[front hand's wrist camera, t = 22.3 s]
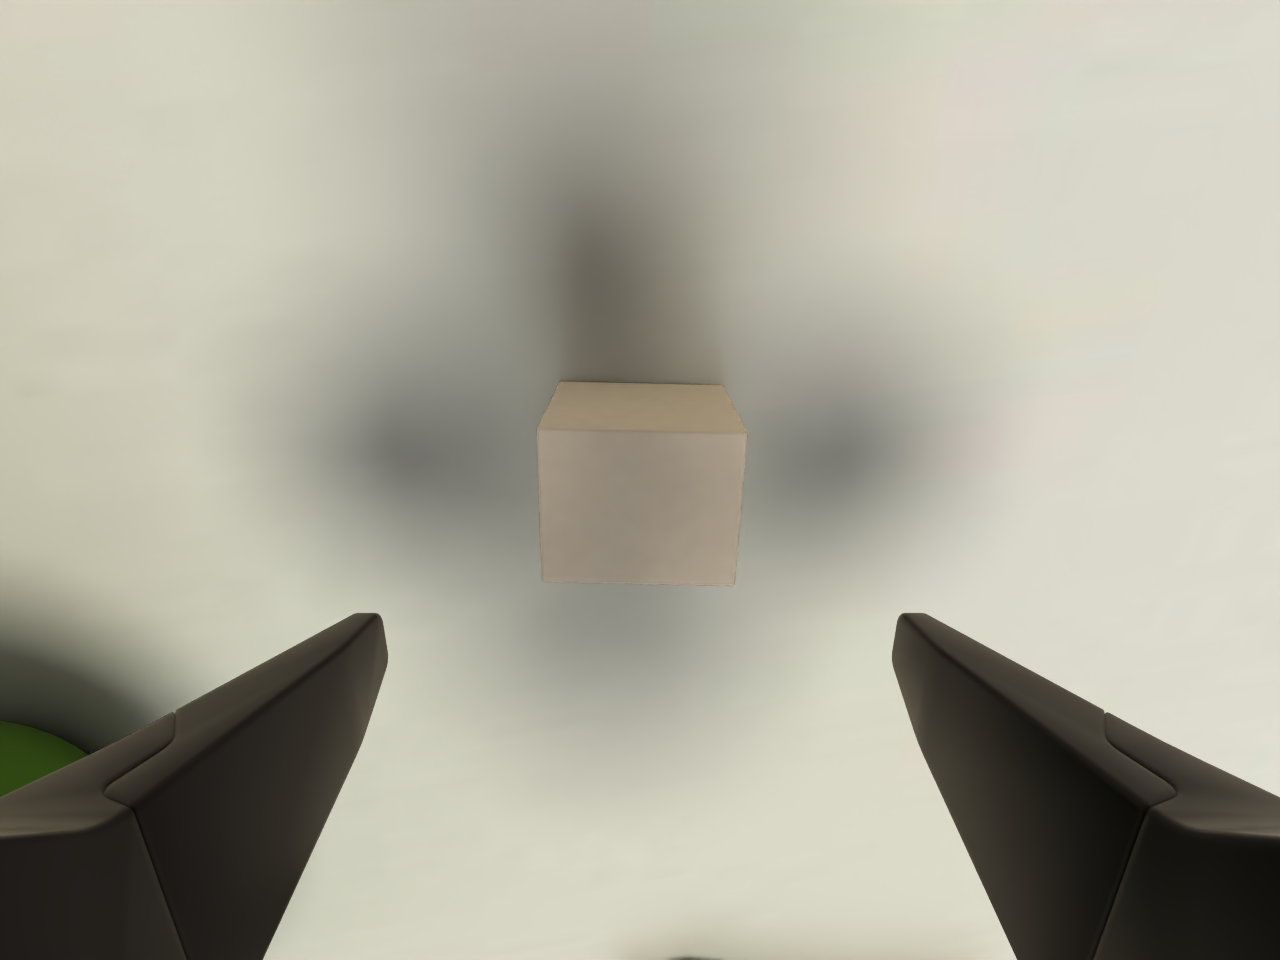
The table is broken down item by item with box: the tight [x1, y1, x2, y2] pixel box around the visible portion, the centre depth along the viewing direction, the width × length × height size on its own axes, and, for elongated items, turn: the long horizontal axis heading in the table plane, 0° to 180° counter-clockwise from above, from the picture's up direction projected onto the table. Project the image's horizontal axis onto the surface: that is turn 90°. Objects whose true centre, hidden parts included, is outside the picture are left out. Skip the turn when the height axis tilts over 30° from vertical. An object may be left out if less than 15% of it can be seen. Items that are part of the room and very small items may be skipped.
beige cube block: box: [536, 381, 747, 586], centre depth 19 cm, size 5×4×5 cm
